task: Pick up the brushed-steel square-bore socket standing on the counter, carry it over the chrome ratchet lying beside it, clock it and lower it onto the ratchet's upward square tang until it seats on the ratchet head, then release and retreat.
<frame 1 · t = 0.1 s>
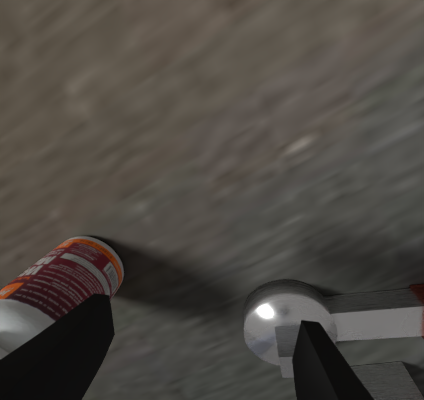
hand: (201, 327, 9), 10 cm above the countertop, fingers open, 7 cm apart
ratchet: (285, 313, 21), on the countertop
socket: (374, 382, 23), on the countertop
pill bottle: (94, 263, 22), on the countertop
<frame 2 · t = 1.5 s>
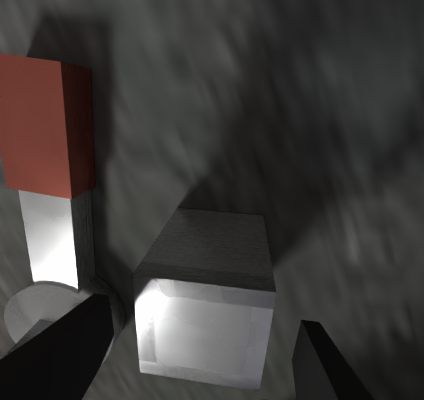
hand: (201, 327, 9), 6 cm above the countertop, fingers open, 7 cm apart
ratchet: (78, 307, 18), on the countertop
socket: (217, 248, 15), on the countertop
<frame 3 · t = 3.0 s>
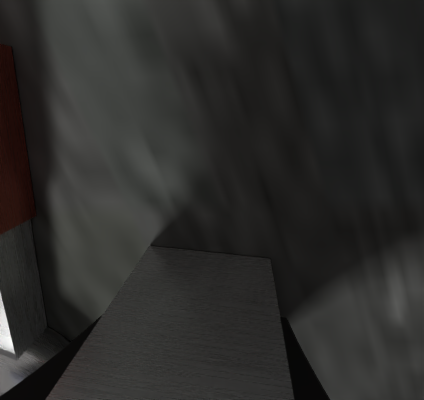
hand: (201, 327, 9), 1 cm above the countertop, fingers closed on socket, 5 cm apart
ratchet: (30, 363, 14), on the countertop
socket: (206, 299, 11), on the countertop, touching gripper
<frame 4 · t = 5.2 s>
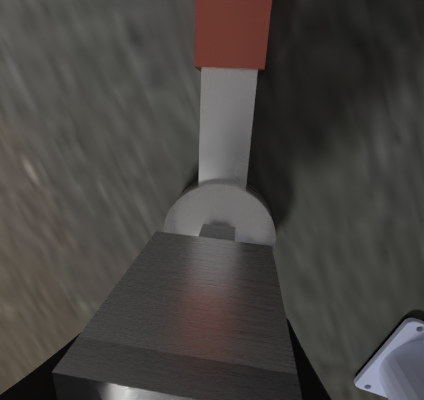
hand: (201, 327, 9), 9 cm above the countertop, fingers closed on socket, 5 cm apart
ratchet: (221, 224, 17), on the countertop
socket: (208, 285, 11), point 7 cm above the countertop, touching gripper
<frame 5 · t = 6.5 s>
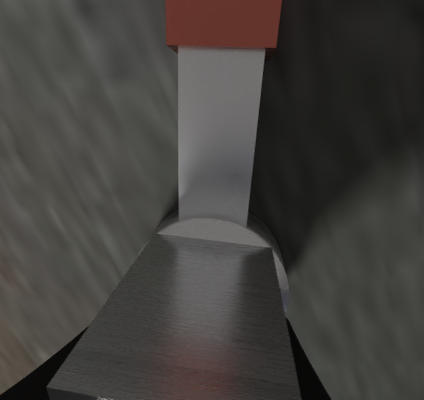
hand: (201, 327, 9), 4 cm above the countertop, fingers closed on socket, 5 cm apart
ratchet: (213, 263, 13), on the countertop
socket: (208, 287, 11), point 2 cm above the countertop, touching gripper, ratchet
when the fingers open (4 cm above the countertop, at t = 7.4 s): socket stays where it is, resting on ratchet.
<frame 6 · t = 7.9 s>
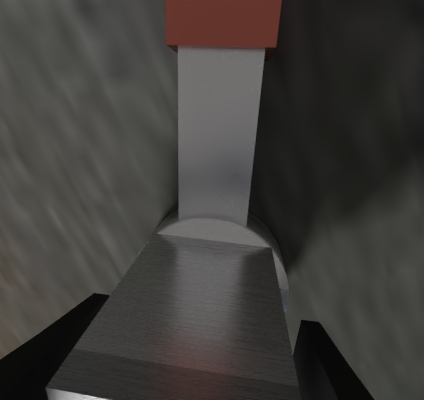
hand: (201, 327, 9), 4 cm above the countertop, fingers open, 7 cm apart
ratchet: (213, 263, 13), on the countertop
socket: (207, 287, 11), point 2 cm above the countertop, touching ratchet
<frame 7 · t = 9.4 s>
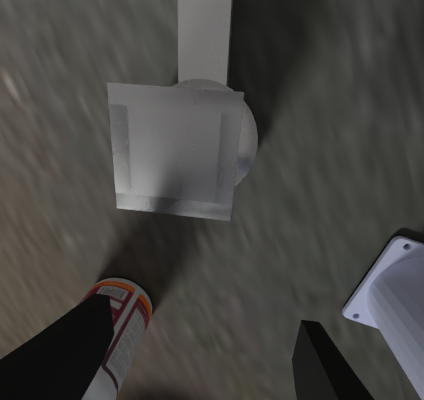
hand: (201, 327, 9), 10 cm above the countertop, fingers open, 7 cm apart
ratchet: (204, 138, 17), on the countertop
socket: (199, 137, 15), point 2 cm above the countertop, touching ratchet
pill bottle: (124, 300, 24), on the countertop
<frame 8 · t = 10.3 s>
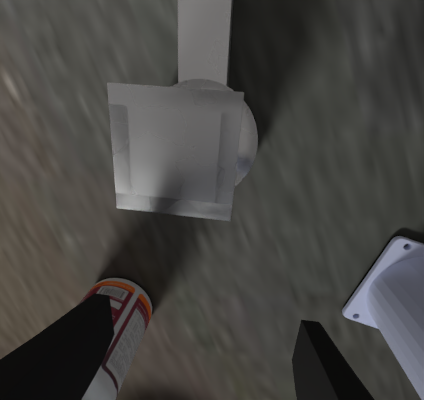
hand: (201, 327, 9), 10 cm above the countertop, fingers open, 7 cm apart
ratchet: (204, 138, 17), on the countertop
socket: (199, 137, 15), point 2 cm above the countertop, touching ratchet
pill bottle: (124, 300, 24), on the countertop
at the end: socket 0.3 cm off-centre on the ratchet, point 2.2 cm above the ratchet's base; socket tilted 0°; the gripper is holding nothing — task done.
